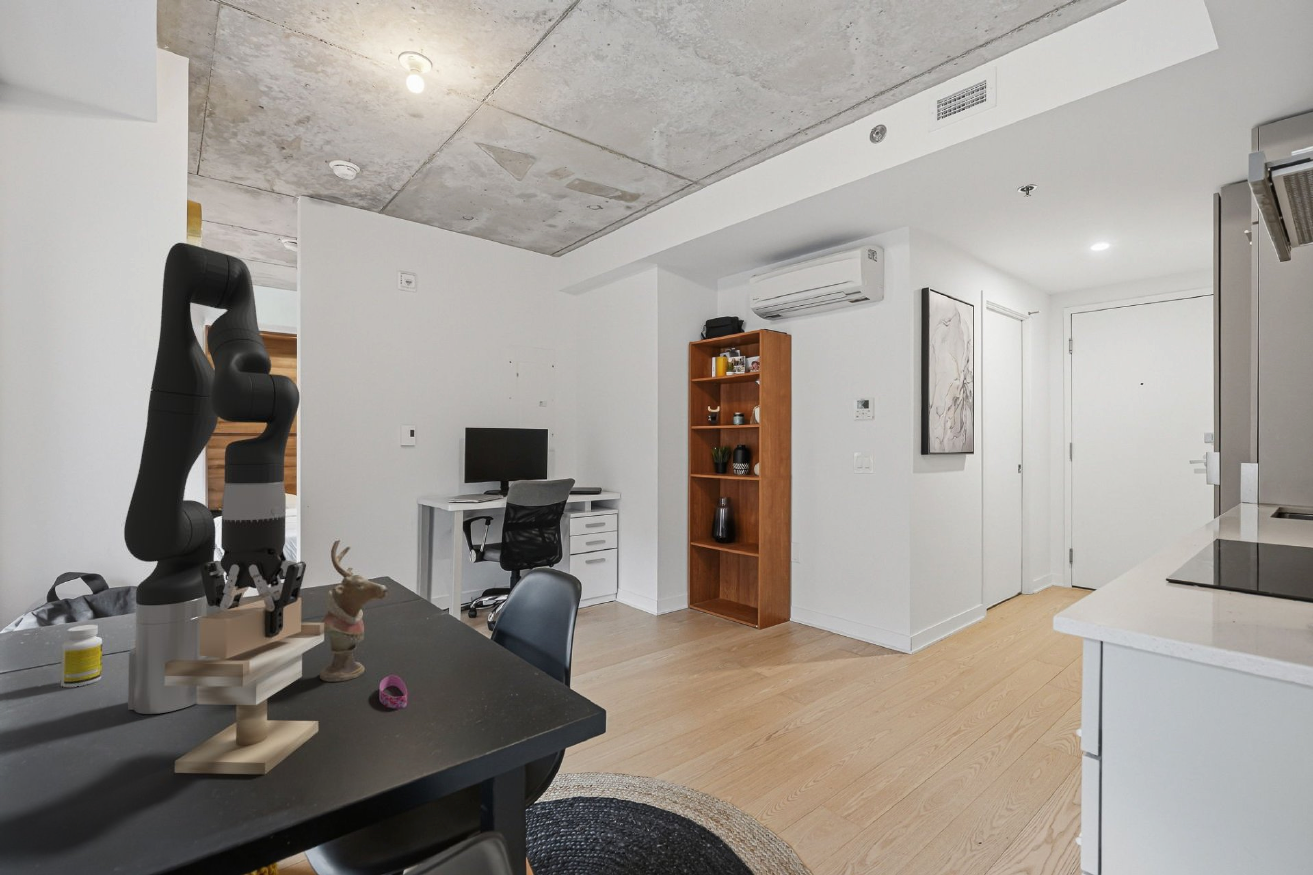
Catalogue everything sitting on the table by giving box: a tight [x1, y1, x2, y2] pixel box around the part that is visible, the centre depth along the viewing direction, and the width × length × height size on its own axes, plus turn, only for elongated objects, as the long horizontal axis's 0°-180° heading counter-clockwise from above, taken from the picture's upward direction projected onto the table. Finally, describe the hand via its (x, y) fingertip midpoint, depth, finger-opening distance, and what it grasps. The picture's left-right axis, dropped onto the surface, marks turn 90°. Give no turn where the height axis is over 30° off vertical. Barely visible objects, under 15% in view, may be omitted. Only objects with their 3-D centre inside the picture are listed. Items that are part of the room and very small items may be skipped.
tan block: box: [199, 597, 302, 659], centre depth 86 cm, size 4×12×5 cm, turn 166°
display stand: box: [165, 621, 325, 775], centre depth 86 cm, size 12×18×15 cm, turn 179°
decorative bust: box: [319, 539, 389, 682], centre depth 115 cm, size 11×13×25 cm
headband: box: [378, 674, 408, 709], centre depth 104 cm, size 11×4×2 cm, turn 33°
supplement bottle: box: [60, 624, 103, 688], centre depth 110 cm, size 5×5×10 cm
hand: (252, 635), depth 86 cm, fingers closed on tan block, 5 cm apart
